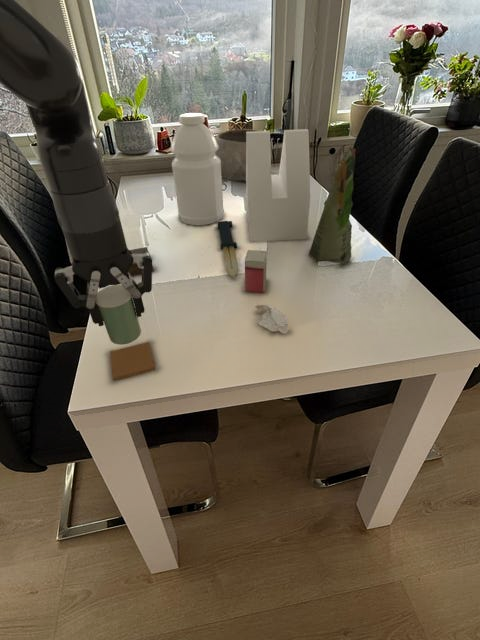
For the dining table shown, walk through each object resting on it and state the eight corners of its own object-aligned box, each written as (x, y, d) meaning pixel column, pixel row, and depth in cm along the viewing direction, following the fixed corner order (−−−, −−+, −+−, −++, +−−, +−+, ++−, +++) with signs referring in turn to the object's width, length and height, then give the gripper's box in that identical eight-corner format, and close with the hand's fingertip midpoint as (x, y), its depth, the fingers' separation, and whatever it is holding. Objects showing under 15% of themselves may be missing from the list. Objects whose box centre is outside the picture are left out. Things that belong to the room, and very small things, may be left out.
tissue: (280, 308, 77) (281, 293, 74) (290, 333, 70) (291, 317, 68) (253, 311, 76) (253, 296, 74) (261, 337, 70) (261, 321, 68)
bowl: (219, 189, 135) (216, 144, 125) (207, 171, 152) (204, 130, 143) (280, 181, 139) (281, 137, 130) (261, 164, 156) (261, 125, 147)
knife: (231, 220, 109) (243, 273, 85) (232, 225, 110) (243, 279, 86) (217, 221, 108) (225, 274, 85) (217, 226, 109) (225, 280, 86)
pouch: (338, 243, 98) (352, 141, 83) (364, 264, 90) (385, 154, 74) (299, 251, 96) (307, 147, 80) (322, 273, 87) (336, 161, 71)
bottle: (233, 215, 115) (228, 113, 98) (200, 230, 108) (189, 122, 90) (202, 204, 123) (193, 108, 106) (169, 218, 115) (153, 116, 98)
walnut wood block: (127, 276, 89) (124, 265, 87) (123, 262, 94) (121, 251, 92) (153, 271, 90) (151, 260, 88) (149, 257, 96) (146, 246, 94)
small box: (248, 280, 86) (247, 249, 81) (266, 281, 85) (267, 250, 80) (244, 292, 82) (243, 260, 77) (264, 293, 81) (264, 261, 76)
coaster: (113, 380, 62) (113, 378, 62) (110, 353, 68) (109, 351, 67) (155, 369, 64) (154, 366, 64) (149, 344, 69) (148, 341, 69)
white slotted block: (246, 213, 116) (244, 124, 101) (296, 211, 116) (301, 122, 101) (250, 241, 101) (248, 141, 86) (306, 239, 101) (315, 139, 86)
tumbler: (109, 349, 60) (95, 309, 55) (106, 328, 64) (93, 289, 59) (144, 340, 61) (133, 300, 56) (139, 320, 65) (129, 281, 60)
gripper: (140, 200, 54) (160, 296, 65) (34, 217, 51) (73, 316, 61) (148, 220, 49) (168, 321, 59) (29, 240, 45) (73, 344, 56)
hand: (120, 318), depth 60 cm, fingers closed on tumbler, 5 cm apart
